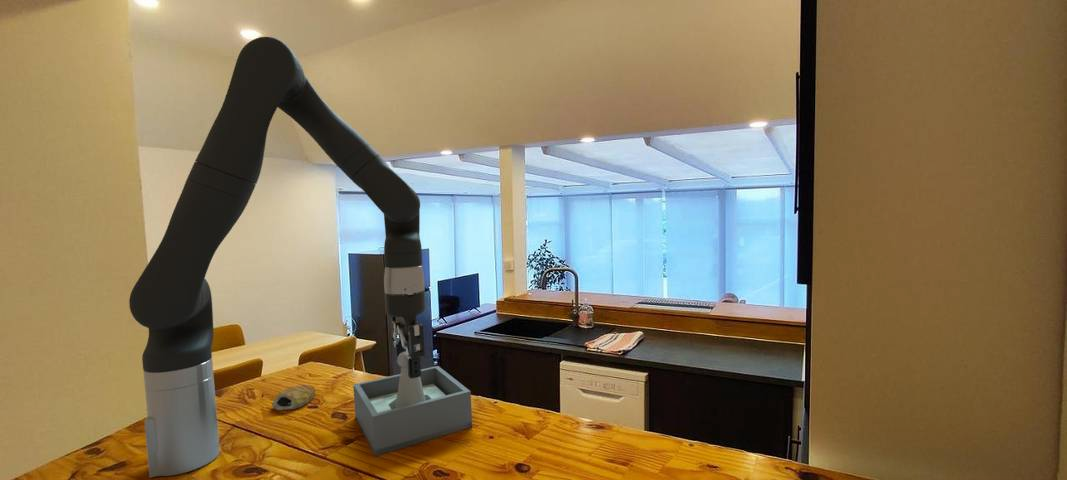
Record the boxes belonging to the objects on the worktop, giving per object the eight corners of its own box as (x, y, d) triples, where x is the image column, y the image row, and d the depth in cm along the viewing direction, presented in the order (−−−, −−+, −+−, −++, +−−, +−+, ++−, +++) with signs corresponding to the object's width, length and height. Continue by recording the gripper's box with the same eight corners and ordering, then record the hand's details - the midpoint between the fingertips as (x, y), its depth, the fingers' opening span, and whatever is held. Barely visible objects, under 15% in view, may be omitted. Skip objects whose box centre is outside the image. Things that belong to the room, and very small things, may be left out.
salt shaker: (430, 411, 92) (428, 348, 91) (419, 424, 86) (417, 357, 86) (403, 410, 93) (400, 348, 92) (390, 423, 87) (388, 356, 87)
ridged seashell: (297, 393, 107) (296, 378, 107) (324, 394, 106) (323, 378, 106) (269, 411, 98) (268, 394, 98) (298, 412, 97) (297, 394, 97)
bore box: (375, 456, 77) (372, 416, 77) (355, 417, 93) (353, 384, 92) (472, 426, 87) (470, 391, 86) (439, 396, 102) (438, 365, 102)
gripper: (376, 286, 92) (380, 364, 93) (394, 296, 80) (398, 386, 81) (413, 282, 96) (416, 358, 97) (435, 291, 84) (439, 377, 85)
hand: (408, 370), depth 89 cm, fingers open, 8 cm apart
